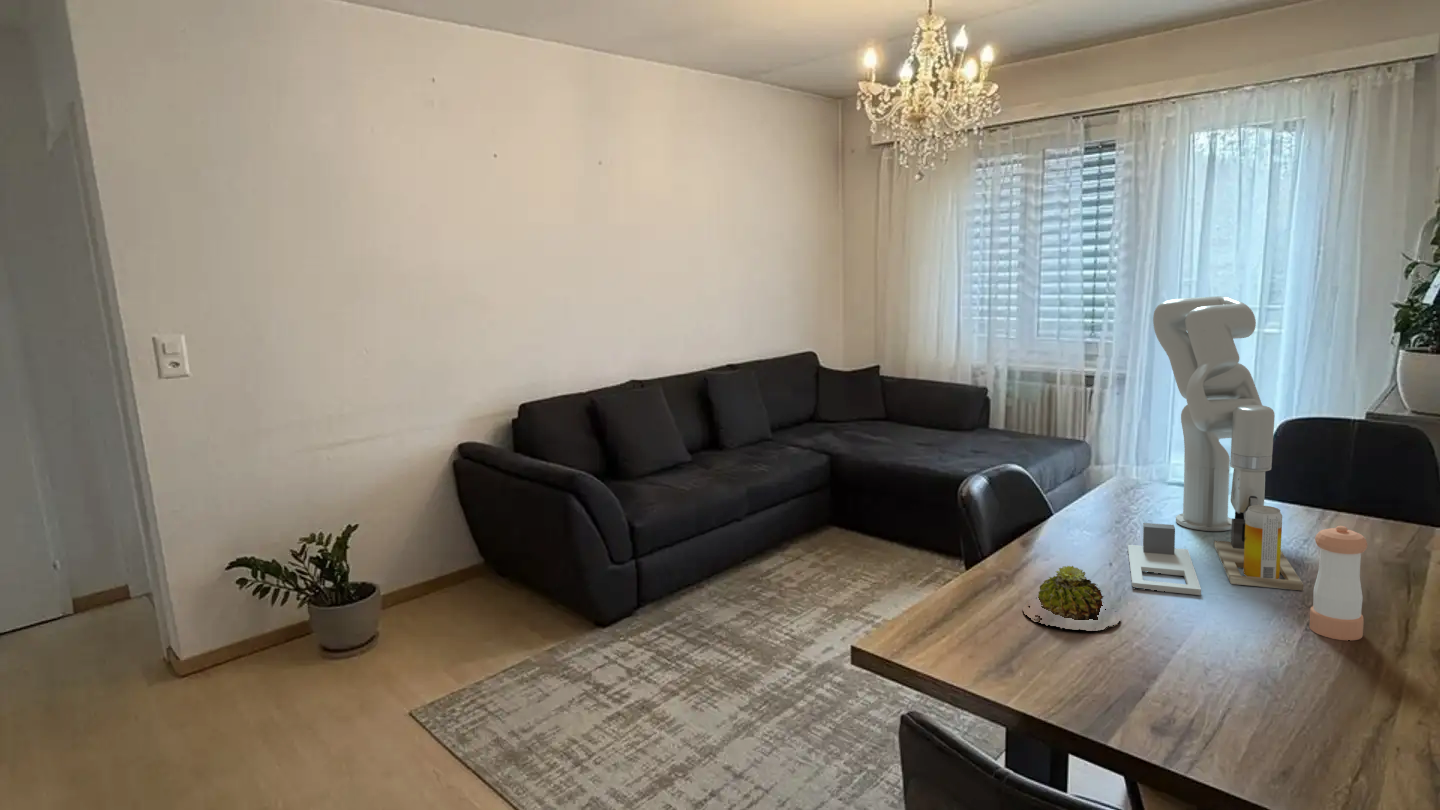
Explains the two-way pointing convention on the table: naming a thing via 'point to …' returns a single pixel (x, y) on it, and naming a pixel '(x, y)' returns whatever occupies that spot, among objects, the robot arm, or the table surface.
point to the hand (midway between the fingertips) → (1246, 534)
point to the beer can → (1262, 542)
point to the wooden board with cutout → (1234, 559)
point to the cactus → (1071, 595)
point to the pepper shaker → (1338, 585)
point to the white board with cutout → (1162, 561)
